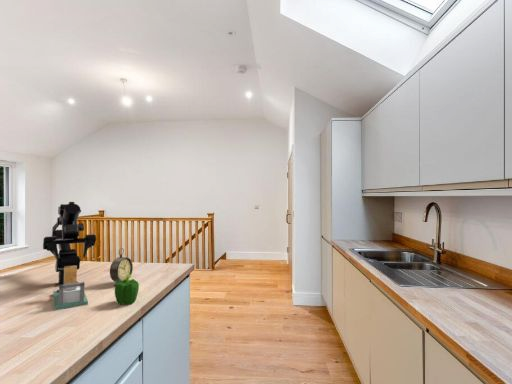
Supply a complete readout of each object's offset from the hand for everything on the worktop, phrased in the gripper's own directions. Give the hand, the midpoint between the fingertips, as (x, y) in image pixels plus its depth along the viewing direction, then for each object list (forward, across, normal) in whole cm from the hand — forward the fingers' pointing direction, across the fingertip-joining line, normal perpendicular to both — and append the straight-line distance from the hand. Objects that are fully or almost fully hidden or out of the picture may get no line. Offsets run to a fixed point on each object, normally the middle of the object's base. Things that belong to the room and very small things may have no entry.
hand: (71, 258), depth 119 cm
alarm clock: (+10, +20, +10) cm, 24 cm away
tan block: (+16, -1, -1) cm, 16 cm away
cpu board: (+16, -1, +2) cm, 17 cm away
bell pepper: (+27, +16, -10) cm, 33 cm away
